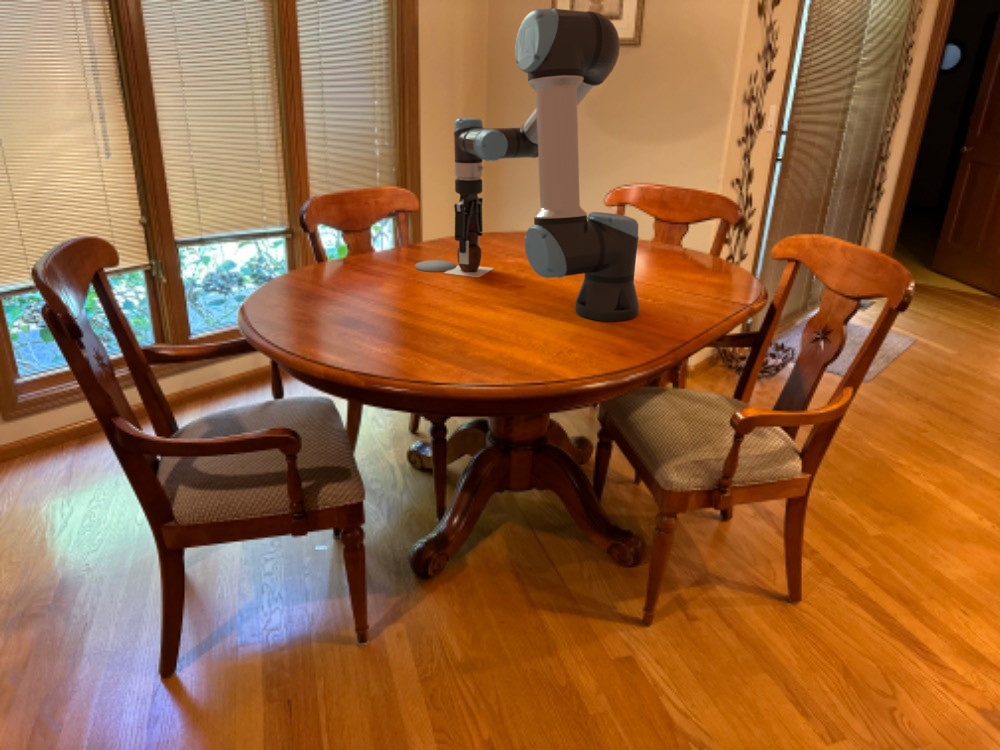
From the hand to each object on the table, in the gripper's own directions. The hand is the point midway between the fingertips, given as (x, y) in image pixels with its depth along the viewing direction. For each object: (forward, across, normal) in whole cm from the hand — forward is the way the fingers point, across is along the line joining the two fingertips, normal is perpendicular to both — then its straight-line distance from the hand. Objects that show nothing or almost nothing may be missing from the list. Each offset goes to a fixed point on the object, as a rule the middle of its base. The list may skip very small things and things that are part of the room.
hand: (469, 260), depth 197 cm
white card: (+3, 0, 0) cm, 3 cm away
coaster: (+3, 0, +11) cm, 11 cm away
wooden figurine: (+3, 0, 0) cm, 3 cm away
